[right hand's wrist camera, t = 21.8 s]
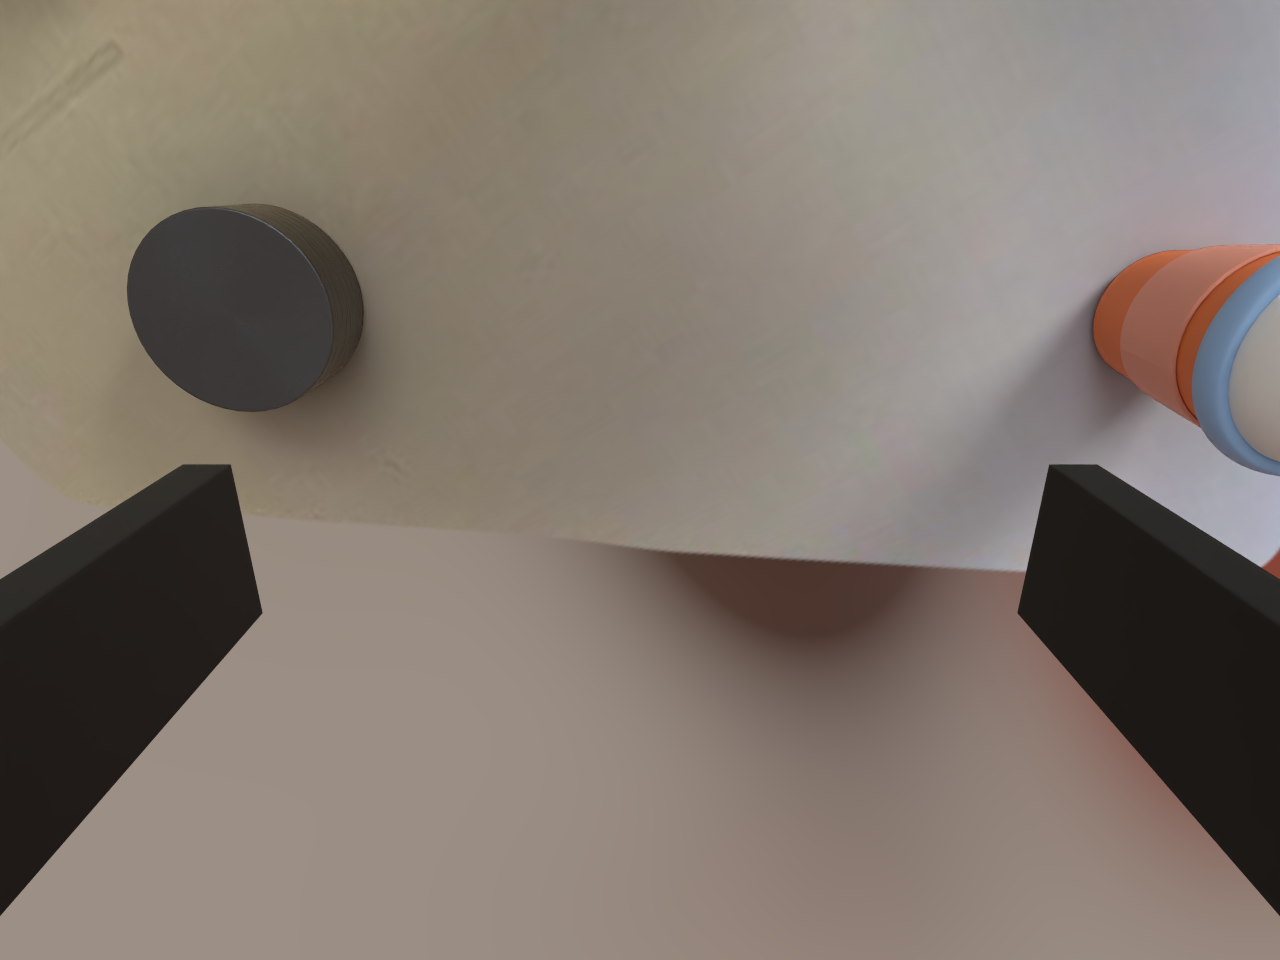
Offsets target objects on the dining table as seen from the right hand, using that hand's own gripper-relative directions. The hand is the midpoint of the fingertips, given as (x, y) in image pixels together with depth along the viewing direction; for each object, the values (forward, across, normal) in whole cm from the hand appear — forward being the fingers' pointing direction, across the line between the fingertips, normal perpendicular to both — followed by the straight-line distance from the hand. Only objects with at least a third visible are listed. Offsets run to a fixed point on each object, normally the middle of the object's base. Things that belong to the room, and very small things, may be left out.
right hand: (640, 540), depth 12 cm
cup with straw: (+27, +25, -1) cm, 37 cm away
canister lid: (+27, -18, 0) cm, 32 cm away
